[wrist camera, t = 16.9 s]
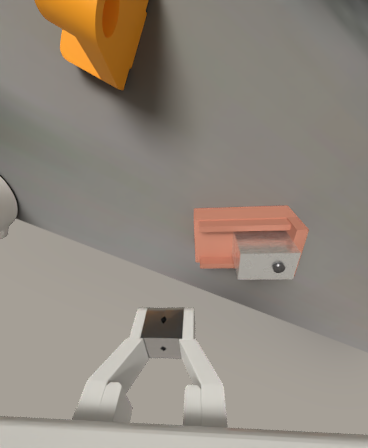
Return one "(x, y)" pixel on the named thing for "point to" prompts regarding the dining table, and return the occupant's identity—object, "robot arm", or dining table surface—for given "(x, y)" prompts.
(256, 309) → the dining table surface
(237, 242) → the block with knob
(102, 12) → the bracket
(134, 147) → the dining table surface
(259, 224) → the pink boxy piece
